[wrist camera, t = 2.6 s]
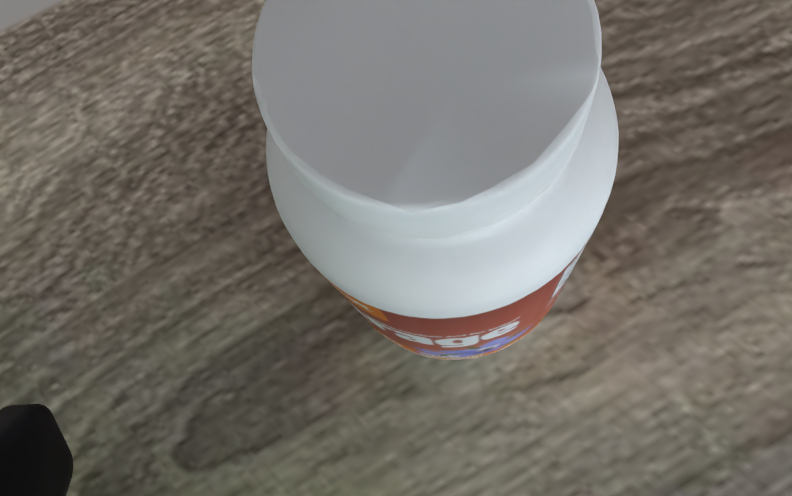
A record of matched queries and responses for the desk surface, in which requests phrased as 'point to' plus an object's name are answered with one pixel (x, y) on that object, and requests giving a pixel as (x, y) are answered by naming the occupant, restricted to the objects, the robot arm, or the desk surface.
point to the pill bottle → (438, 156)
